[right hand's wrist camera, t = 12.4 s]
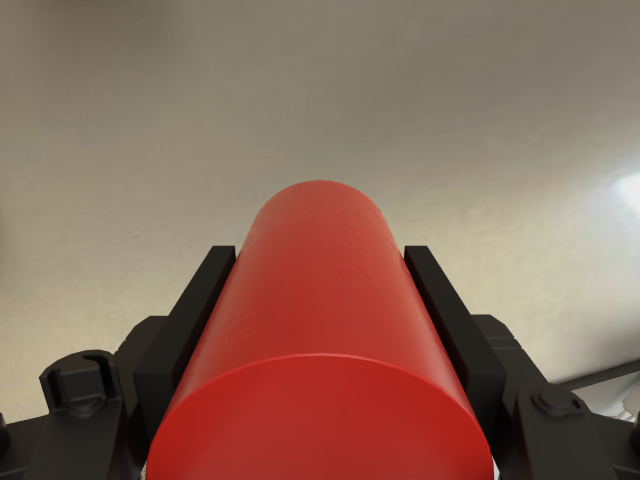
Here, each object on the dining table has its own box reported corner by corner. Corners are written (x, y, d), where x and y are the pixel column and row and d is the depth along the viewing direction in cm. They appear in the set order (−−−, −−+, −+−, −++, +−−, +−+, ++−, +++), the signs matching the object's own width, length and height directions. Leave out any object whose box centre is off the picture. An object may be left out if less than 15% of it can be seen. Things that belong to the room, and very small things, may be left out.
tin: (396, 180, 16) (527, 355, 6) (386, 312, 18) (468, 603, 8) (244, 179, 16) (115, 351, 6) (252, 310, 18) (167, 602, 8)
